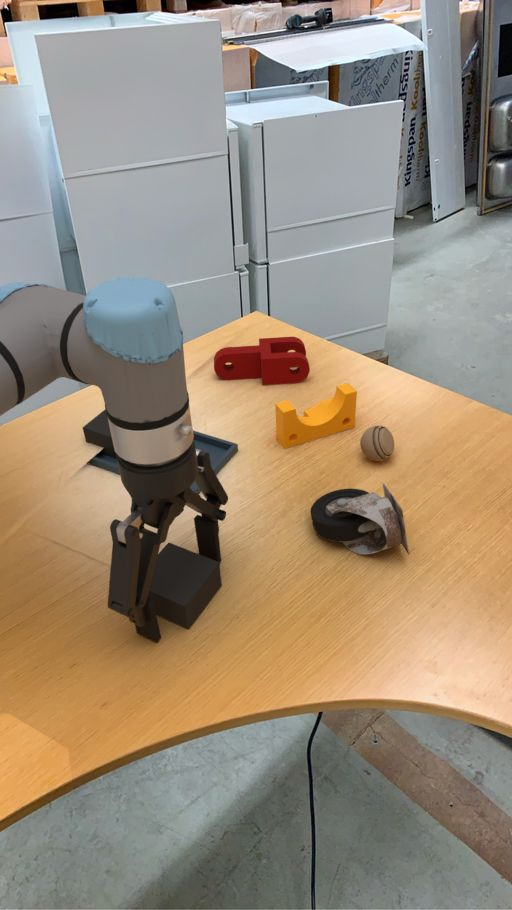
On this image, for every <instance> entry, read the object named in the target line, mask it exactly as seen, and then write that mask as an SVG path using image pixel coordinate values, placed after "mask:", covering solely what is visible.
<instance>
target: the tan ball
mask: <svg viewBox="0 0 512 910" xmlns="http://www.w3.org/2000/svg"><path fill="white" fill-rule="evenodd" d="M359 445H360V449H361V452H362V454H363V455H364V456H365V457H366V458H368V459H369V460H371V461H374V462H382V461H386V460H388V459H390V457H392V455H393V454H394V450H395V439H394V435H393V434H392V432H391V431H390V430H389V429H388V428H387V427H386V426H384V425H372V426H370V427H368V428H367V429H366V430H365V431H364V432H363V433H362V435H361V437H360V444H359Z"/></svg>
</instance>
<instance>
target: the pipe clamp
mask: <svg viewBox="0 0 512 910" xmlns="http://www.w3.org/2000/svg"><path fill="white" fill-rule="evenodd" d="M357 394H358V390H356V389H355V388H354V386H352V385H351V384H350V383H349V382H346V383H343V384H340V385H336V388H335V392H334V396H333V397H331V398H327V399H324V400H321V401H319V402H318V403H317V404H316V405H314V406H313V407H311V408H308V409H305V410H303V416H300V415H297V409H296V407H295V406H294V405H293V404H292V403H291V402H290V401H289V400H288V399H287V400H283V401H279V402H276V403H274V404H275V439H276V441H277V442H278V444H279V445H280V446H281V447H282V449H284V450H285V449H289V448H291V447H295V446H299V445H300V444H304V443H309V442H311V441H314V440H317V439H321V438H324V437H327V436H331V435H333V434H336V433H337V434H338V433H340V432H343V431H347V430H349V429H353V428H355V426H356V414H357V413H356V410H357V399H358V398H357V397H358V395H357Z"/></svg>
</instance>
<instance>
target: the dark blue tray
mask: <svg viewBox="0 0 512 910" xmlns="http://www.w3.org/2000/svg"><path fill="white" fill-rule="evenodd" d="M193 435H194V437H193V440H194V442H195V447H196V449H198V450H201V451H205V452H208V453H209V456H210V462H211V467H212V469H213V471H214V472H215V474H216V476H217V475H218V474H219V473H220V472H221V471H222V469H223V468H224V467H225V466H226V465H227V464H228V463H229V462H230V460H232V458H233V457H234V456H236V454H237V453H238V452H239V444H238V443H236V442H232V441H229V440H226V439H223V438H220V437H216V436H214V435H213V436H212V435H209V434H206V433H203V432H200V431H196V430H193ZM86 464H87V465H90V466H94V467H96V468H99V469H102V470H105V471H108V472H110V473H113V474H116V475H119V476H120V471H119V467H118V463H117V459H115V458H112V457H109V456H106V455H104V454H101V453H99V452H98V453H96V454H95V455H94V456H93V457H92V458H90V459H89V460H88V461H87V462H86ZM190 489H191V490H193V491H194V492H195V493H197V494H198V495H200V493H202V492H201V490H200V489H199V487H198V486H197V484H196V482H195V481H194V482H193V484H192V485H191V486H190Z"/></svg>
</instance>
